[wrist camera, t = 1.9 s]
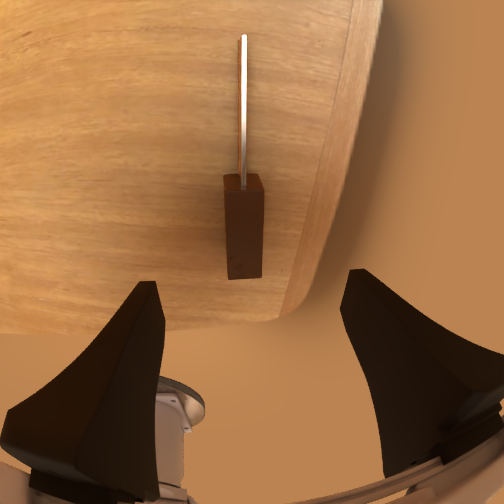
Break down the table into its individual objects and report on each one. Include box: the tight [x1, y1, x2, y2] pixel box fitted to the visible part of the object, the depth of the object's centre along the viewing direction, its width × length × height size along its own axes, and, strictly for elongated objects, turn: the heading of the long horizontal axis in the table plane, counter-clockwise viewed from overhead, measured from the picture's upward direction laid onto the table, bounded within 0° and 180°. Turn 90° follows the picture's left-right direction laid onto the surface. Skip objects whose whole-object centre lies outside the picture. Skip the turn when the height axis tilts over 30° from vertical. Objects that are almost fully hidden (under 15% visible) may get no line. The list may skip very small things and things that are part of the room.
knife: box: [223, 34, 264, 280], centre depth 13 cm, size 12×2×2 cm, turn 179°
